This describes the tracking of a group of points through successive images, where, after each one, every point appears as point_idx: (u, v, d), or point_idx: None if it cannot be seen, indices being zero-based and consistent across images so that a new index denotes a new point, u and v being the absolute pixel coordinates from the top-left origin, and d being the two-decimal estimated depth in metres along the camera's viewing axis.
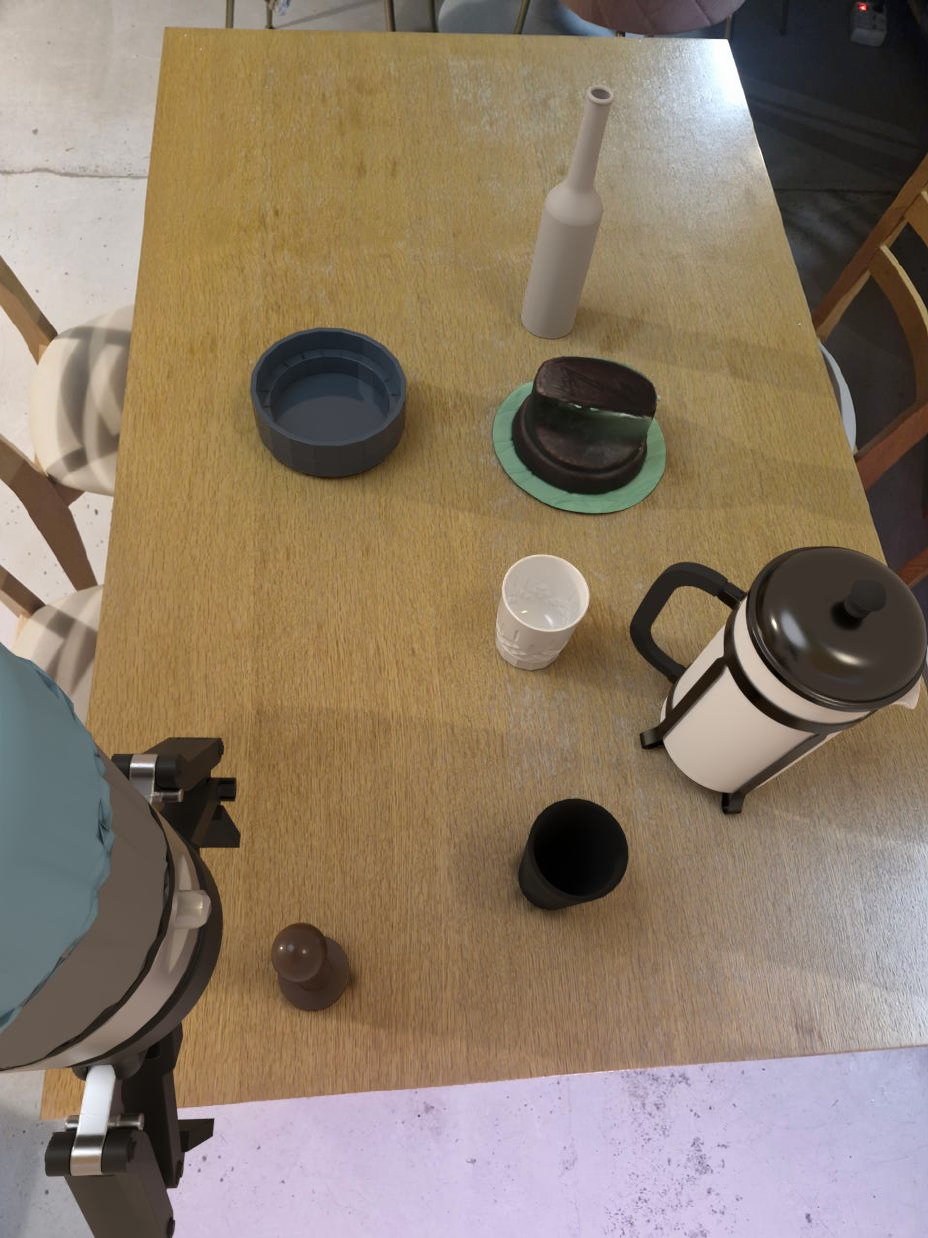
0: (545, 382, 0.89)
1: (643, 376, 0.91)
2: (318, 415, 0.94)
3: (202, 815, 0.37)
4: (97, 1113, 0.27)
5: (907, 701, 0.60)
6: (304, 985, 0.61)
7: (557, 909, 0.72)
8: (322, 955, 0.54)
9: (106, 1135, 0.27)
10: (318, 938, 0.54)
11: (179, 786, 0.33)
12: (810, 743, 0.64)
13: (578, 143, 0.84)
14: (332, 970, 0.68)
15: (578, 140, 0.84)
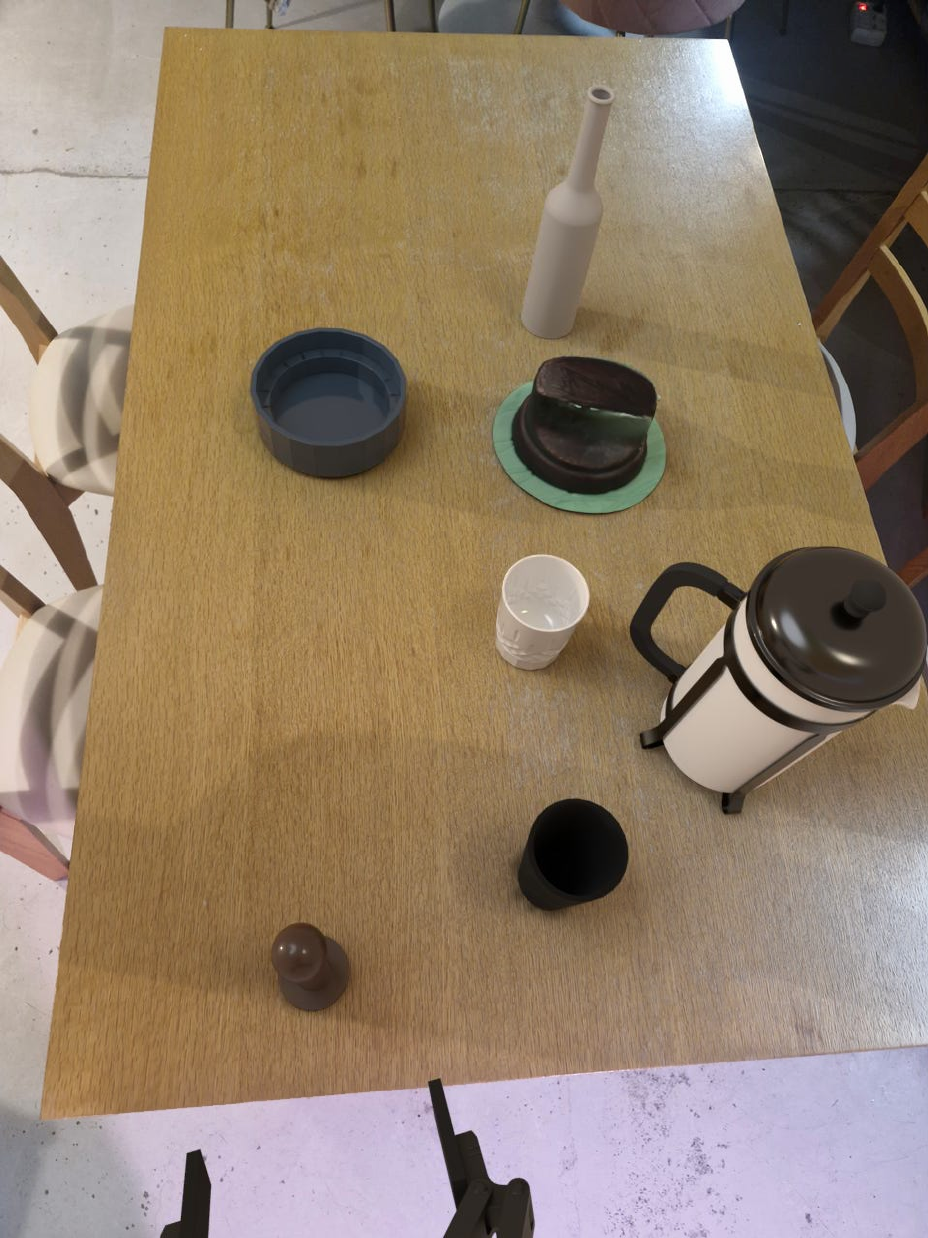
0: (545, 382, 0.89)
1: (643, 376, 0.91)
2: (318, 415, 0.94)
3: None
4: None
5: (907, 701, 0.60)
6: (304, 985, 0.61)
7: (557, 909, 0.72)
8: (322, 955, 0.54)
9: None
10: (318, 938, 0.54)
11: None
12: (810, 743, 0.64)
13: (578, 143, 0.84)
14: (332, 970, 0.68)
15: (578, 140, 0.84)
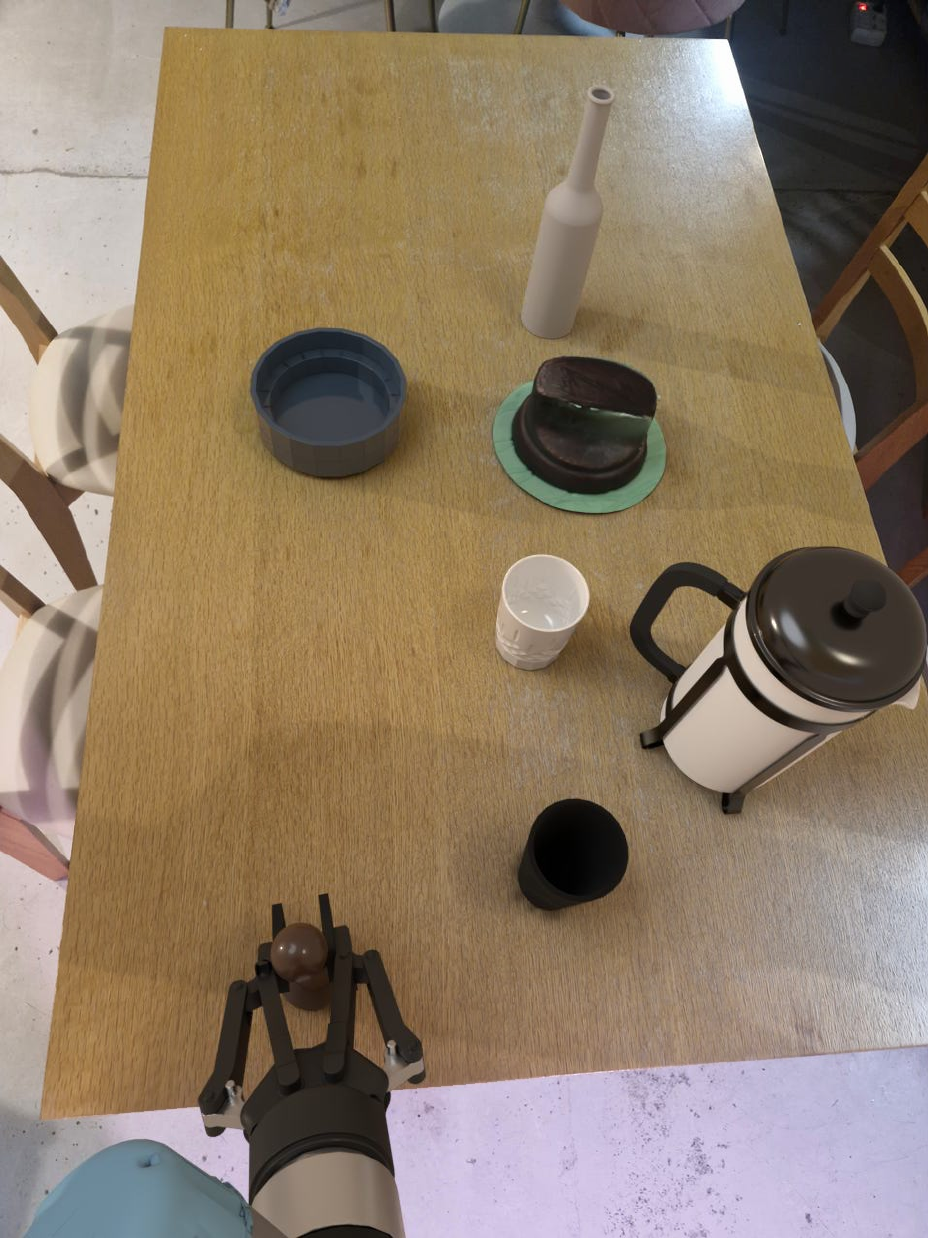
0: (545, 382, 0.89)
1: (643, 376, 0.91)
2: (318, 415, 0.94)
3: (354, 1022, 0.56)
4: (225, 1123, 0.48)
5: (907, 701, 0.60)
6: (304, 985, 0.61)
7: (557, 909, 0.72)
8: (322, 955, 0.54)
9: (217, 1124, 0.49)
10: (318, 938, 0.54)
11: None
12: (810, 743, 0.64)
13: (578, 143, 0.84)
14: None
15: (578, 140, 0.84)
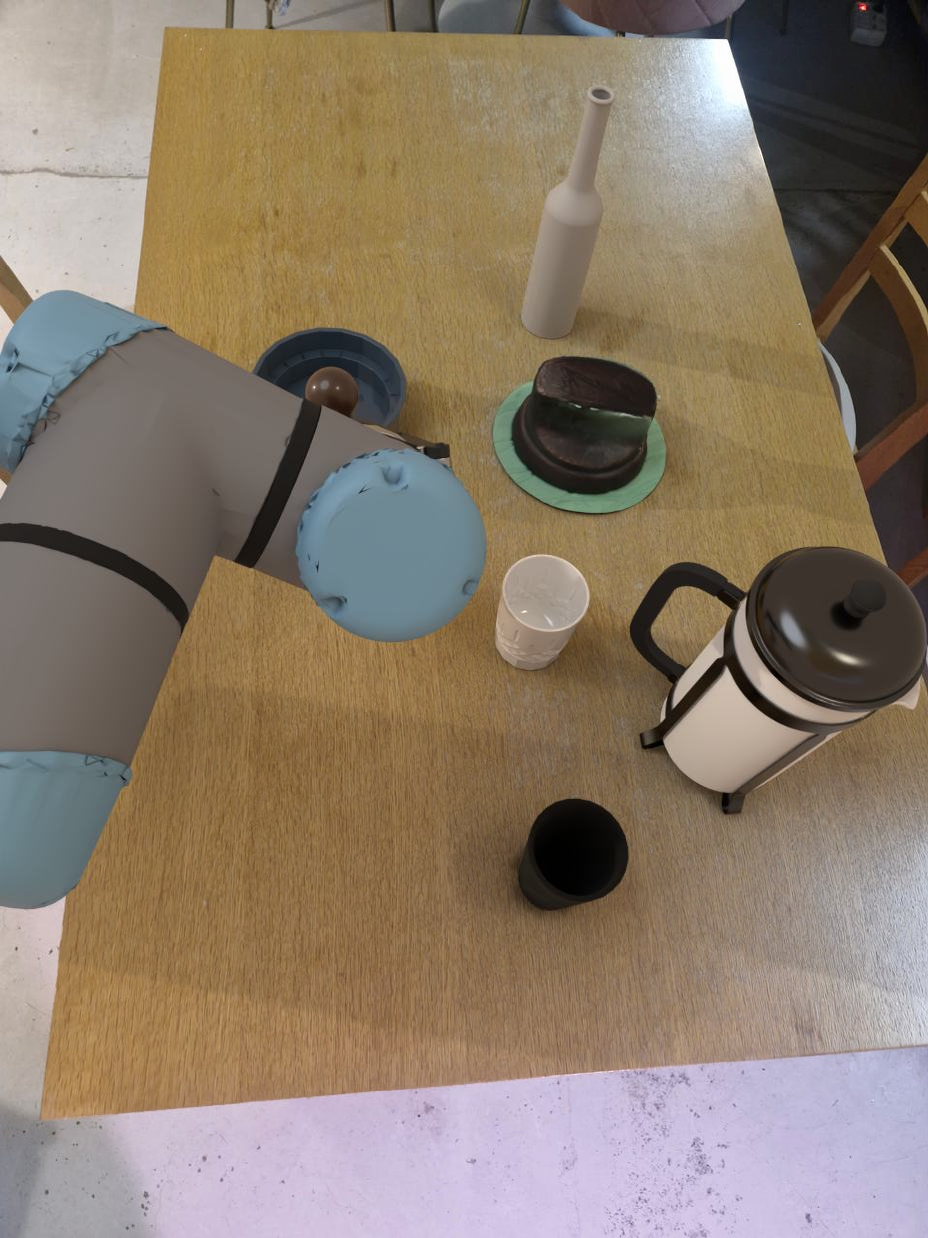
0: (545, 382, 0.89)
1: (643, 376, 0.91)
2: None
3: None
4: None
5: (907, 701, 0.60)
6: None
7: (557, 909, 0.72)
8: (354, 390, 0.57)
9: None
10: (350, 376, 0.57)
11: None
12: (810, 743, 0.64)
13: (578, 143, 0.84)
14: None
15: (578, 140, 0.84)
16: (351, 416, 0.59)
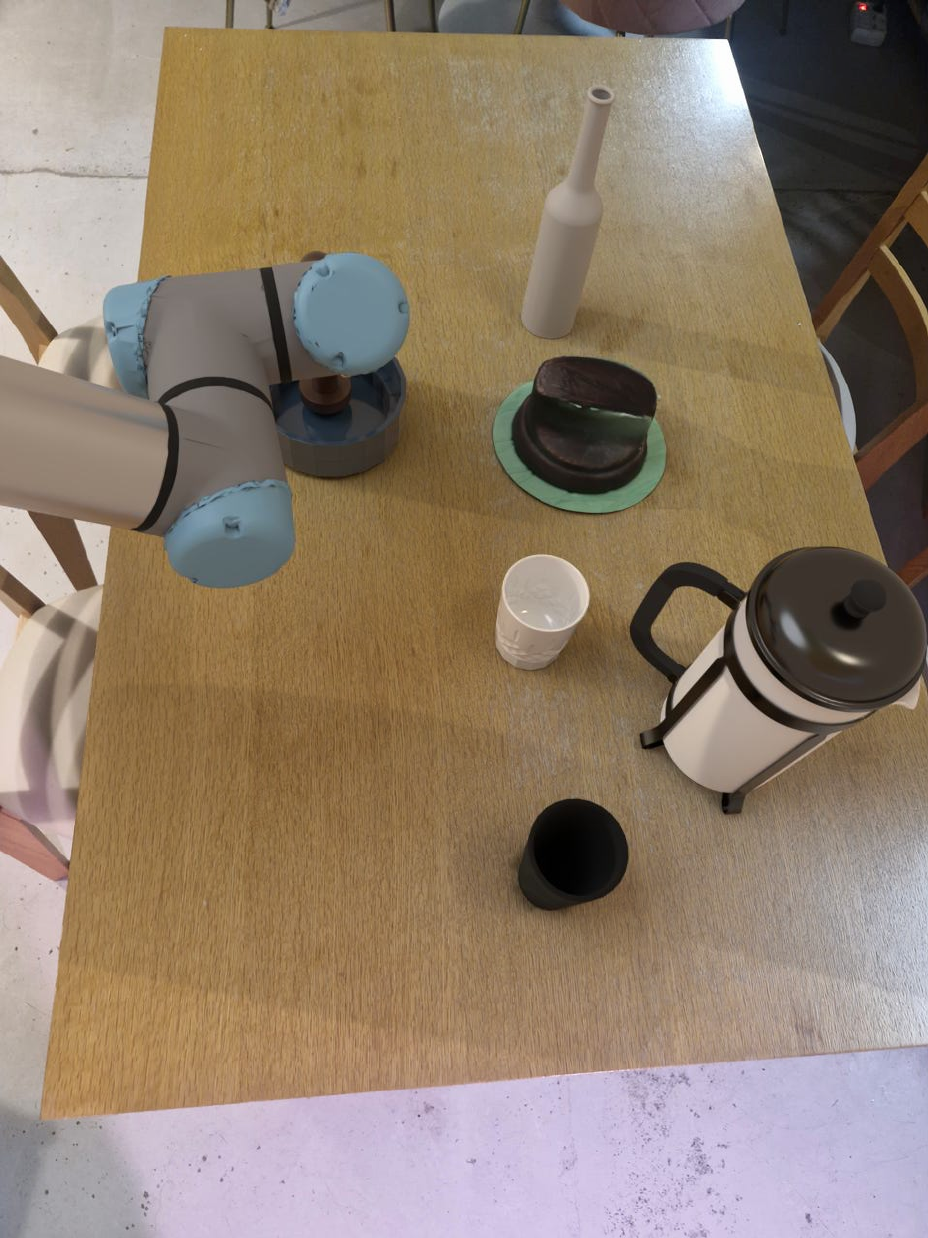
0: (545, 382, 0.89)
1: (643, 376, 0.91)
2: (318, 415, 0.94)
3: None
4: None
5: (907, 701, 0.60)
6: None
7: (557, 909, 0.72)
8: None
9: None
10: None
11: None
12: (810, 743, 0.64)
13: (578, 143, 0.84)
14: (339, 383, 0.92)
15: (578, 140, 0.84)
16: None
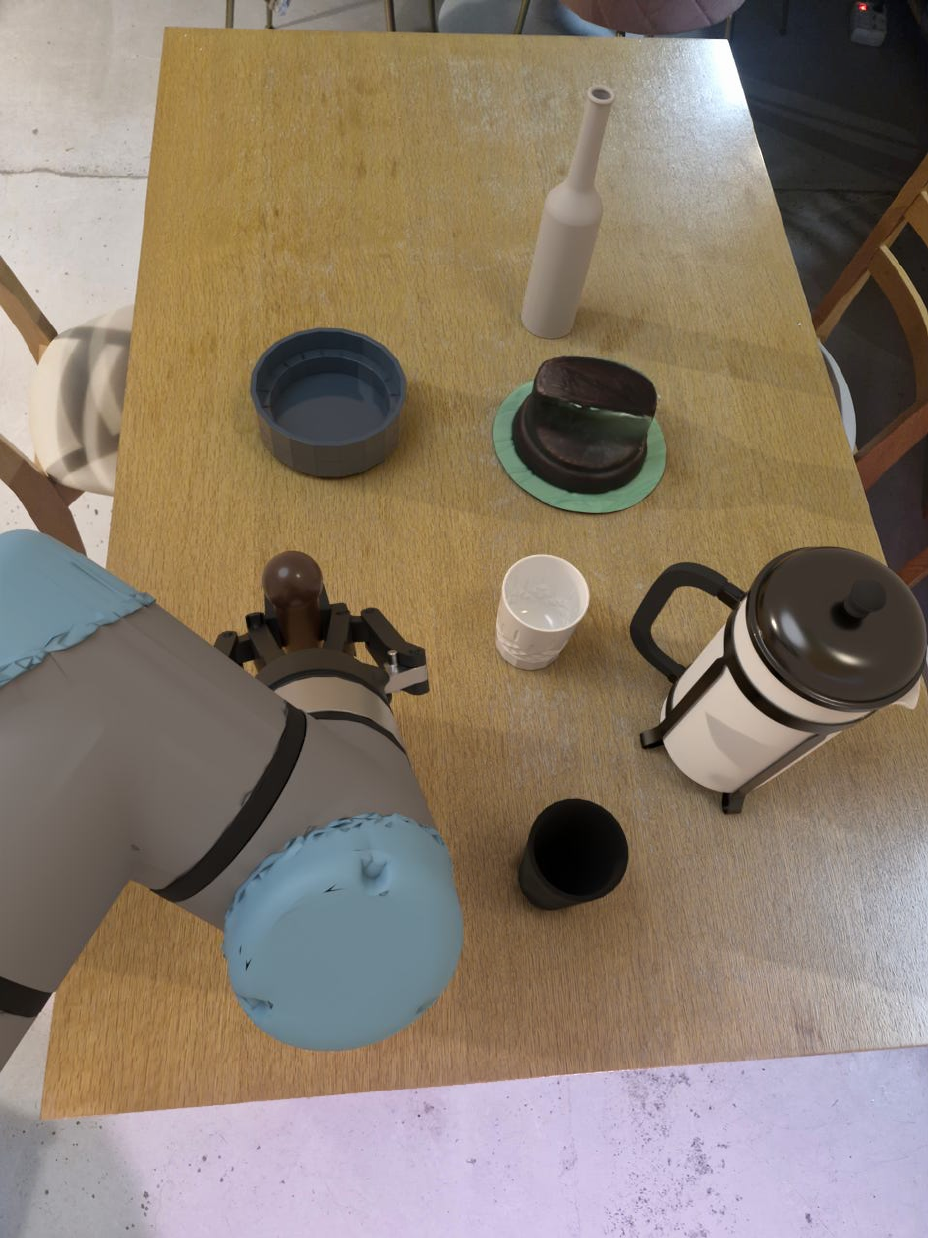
0: (545, 381, 0.89)
1: (643, 376, 0.91)
2: (318, 415, 0.94)
3: None
4: None
5: (907, 701, 0.60)
6: None
7: (557, 909, 0.72)
8: (317, 578, 0.50)
9: None
10: (313, 561, 0.50)
11: (406, 692, 0.48)
12: (810, 743, 0.64)
13: (578, 143, 0.84)
14: None
15: (578, 140, 0.84)
16: (315, 601, 0.52)
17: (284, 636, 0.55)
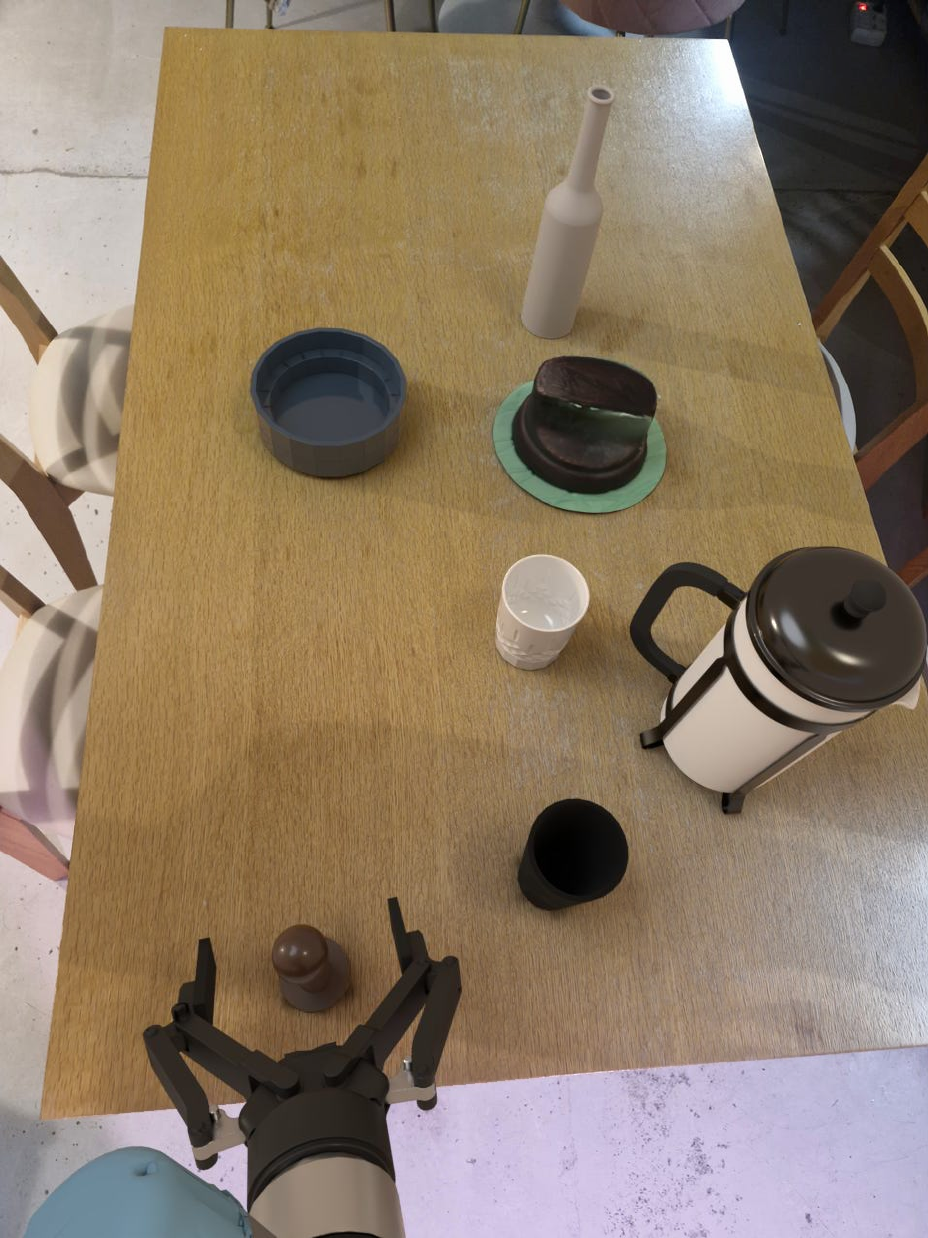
0: (545, 381, 0.89)
1: (643, 376, 0.91)
2: (318, 415, 0.94)
3: (404, 1033, 0.54)
4: (223, 1145, 0.46)
5: (907, 701, 0.60)
6: (305, 987, 0.61)
7: (557, 909, 0.72)
8: (323, 957, 0.54)
9: (213, 1152, 0.47)
10: (319, 940, 0.54)
11: None
12: (810, 743, 0.64)
13: (578, 143, 0.84)
14: (333, 971, 0.68)
15: (578, 140, 0.84)
16: None
17: None
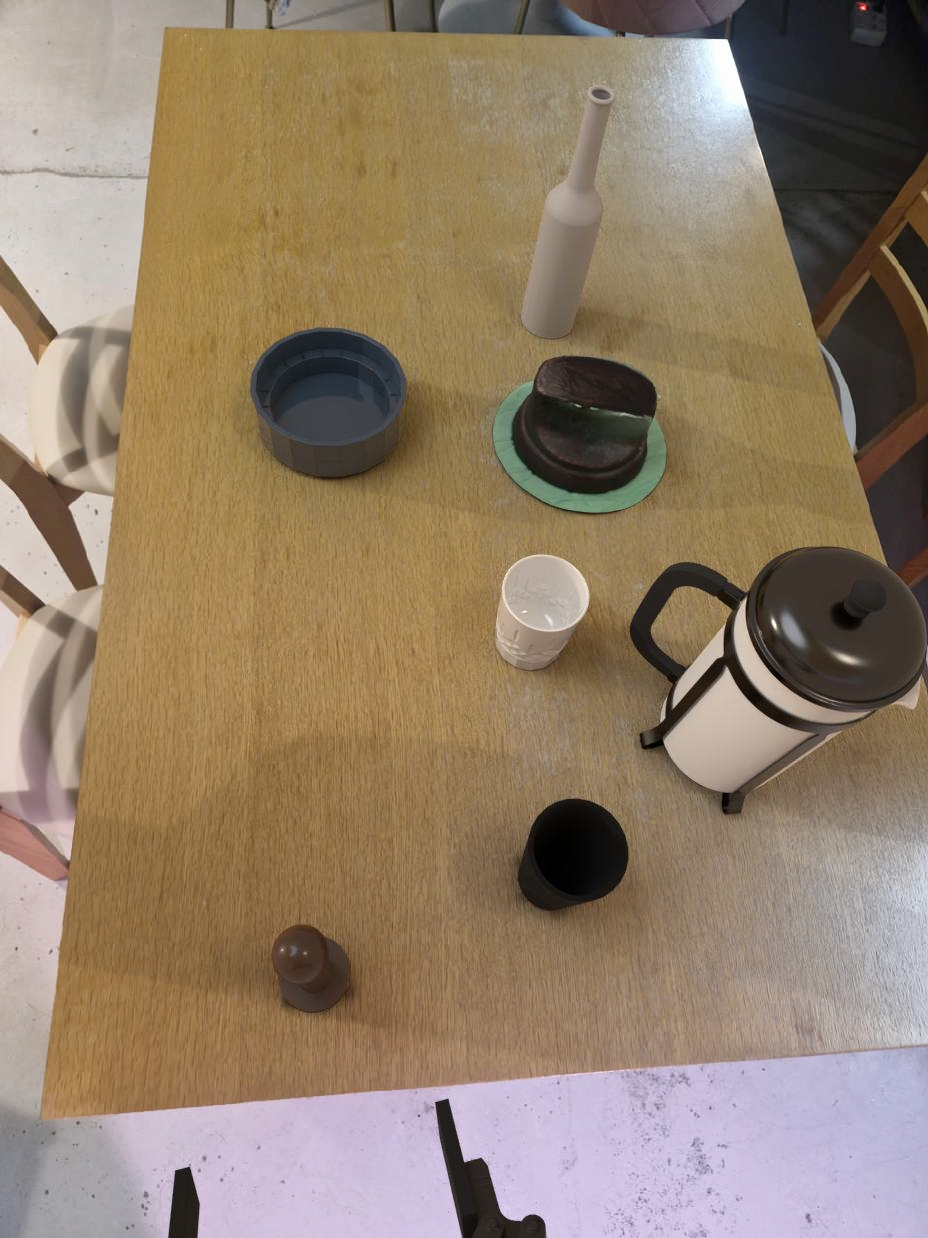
0: (545, 381, 0.89)
1: (643, 376, 0.91)
2: (318, 415, 0.94)
3: None
4: None
5: (907, 701, 0.60)
6: (305, 987, 0.61)
7: (557, 909, 0.72)
8: (323, 957, 0.54)
9: None
10: (319, 940, 0.54)
11: None
12: (810, 743, 0.64)
13: (578, 143, 0.84)
14: (333, 971, 0.68)
15: (578, 140, 0.84)
16: None
17: None
